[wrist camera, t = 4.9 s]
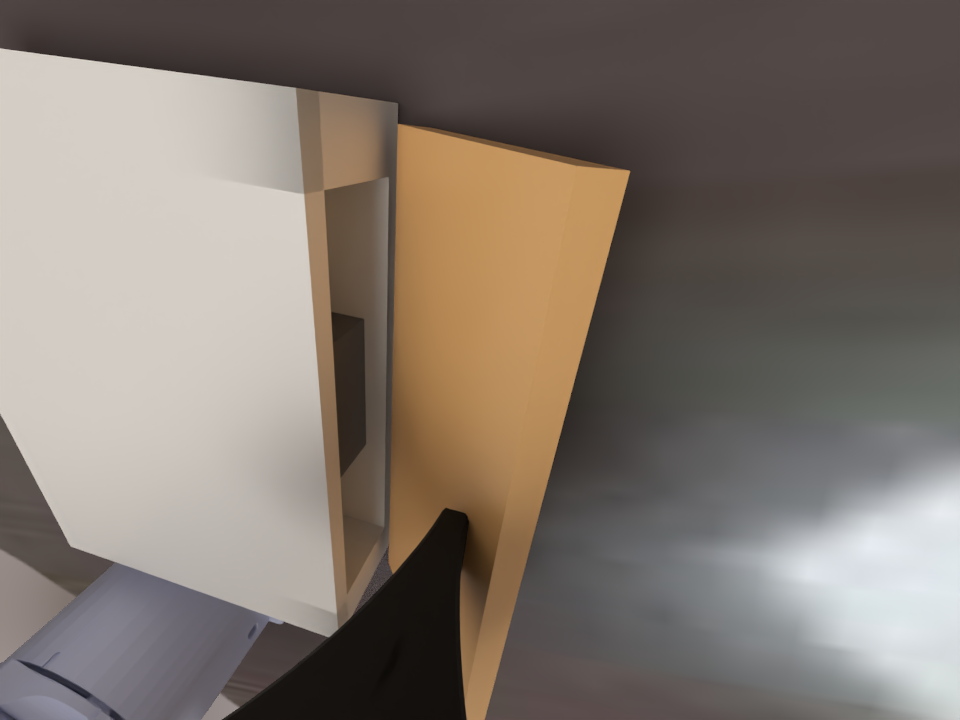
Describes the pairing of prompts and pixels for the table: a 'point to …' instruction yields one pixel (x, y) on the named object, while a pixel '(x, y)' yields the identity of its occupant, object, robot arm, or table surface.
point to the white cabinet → (202, 325)
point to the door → (487, 354)
